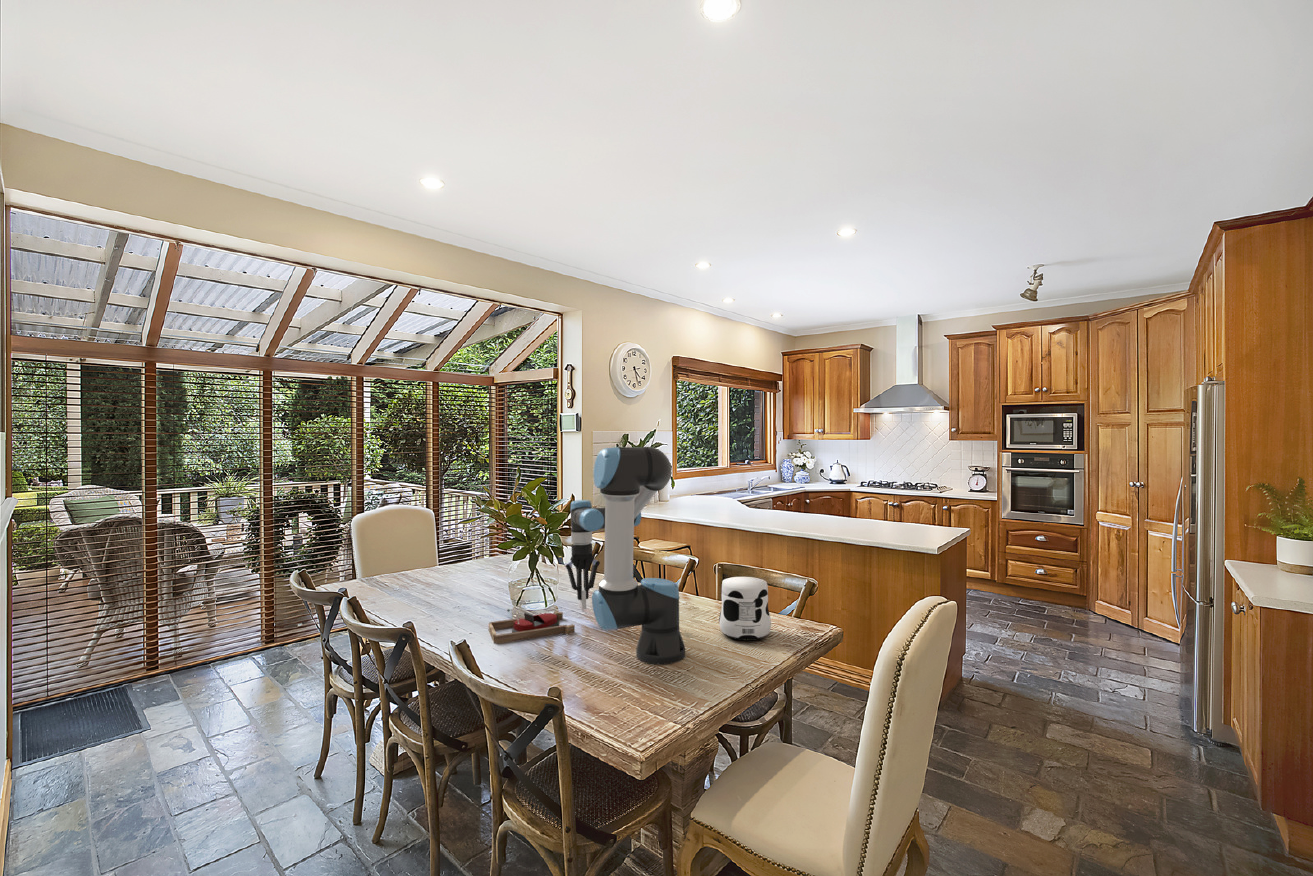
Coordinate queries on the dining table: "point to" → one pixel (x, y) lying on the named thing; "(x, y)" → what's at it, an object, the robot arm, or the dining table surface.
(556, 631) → the cradle
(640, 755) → the dining table surface
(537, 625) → the bumper car
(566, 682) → the dining table surface
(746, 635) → the milk container
